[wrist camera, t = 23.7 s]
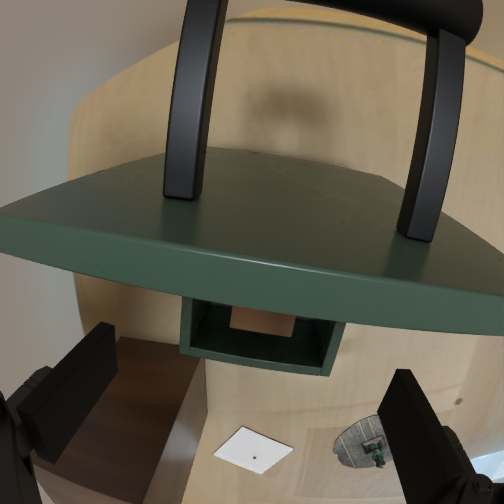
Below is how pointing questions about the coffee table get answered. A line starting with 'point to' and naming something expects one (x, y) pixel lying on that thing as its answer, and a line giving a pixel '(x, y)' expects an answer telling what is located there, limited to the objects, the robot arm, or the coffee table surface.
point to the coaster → (252, 451)
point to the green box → (258, 340)
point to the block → (262, 321)
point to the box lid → (283, 206)
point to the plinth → (134, 432)
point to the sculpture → (363, 445)
